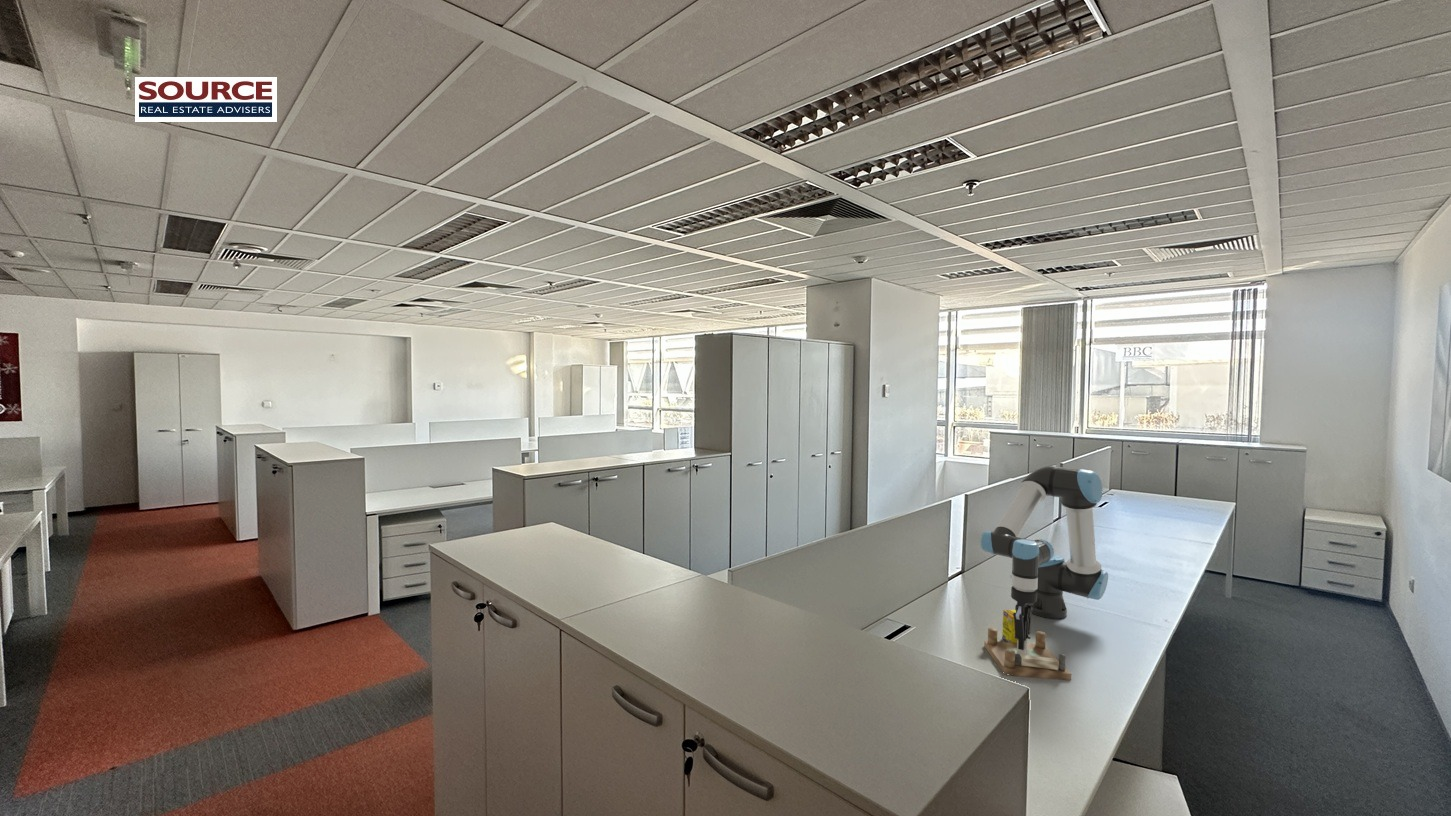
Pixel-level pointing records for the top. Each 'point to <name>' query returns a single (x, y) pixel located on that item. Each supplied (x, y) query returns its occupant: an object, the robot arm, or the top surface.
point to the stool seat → (1006, 654)
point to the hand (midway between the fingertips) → (1021, 657)
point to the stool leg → (1036, 661)
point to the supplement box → (1009, 626)
